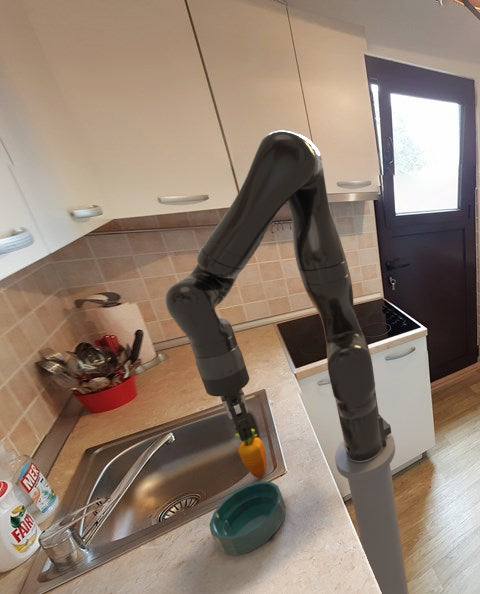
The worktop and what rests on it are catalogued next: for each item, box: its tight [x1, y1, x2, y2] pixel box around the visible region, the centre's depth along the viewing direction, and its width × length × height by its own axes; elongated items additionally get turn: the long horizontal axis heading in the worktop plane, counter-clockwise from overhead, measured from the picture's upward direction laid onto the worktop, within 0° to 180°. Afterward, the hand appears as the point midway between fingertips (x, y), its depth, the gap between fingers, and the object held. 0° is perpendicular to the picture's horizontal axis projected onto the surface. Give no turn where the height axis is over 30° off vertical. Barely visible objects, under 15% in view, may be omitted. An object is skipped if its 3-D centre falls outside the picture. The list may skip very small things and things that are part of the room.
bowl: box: [209, 481, 287, 556], centre depth 69 cm, size 12×12×6 cm
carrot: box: [234, 428, 268, 479], centre depth 78 cm, size 5×5×15 cm
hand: (243, 427), depth 75 cm, fingers open, 8 cm apart
